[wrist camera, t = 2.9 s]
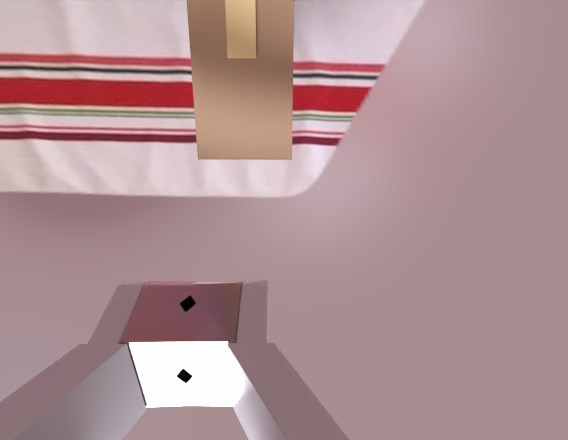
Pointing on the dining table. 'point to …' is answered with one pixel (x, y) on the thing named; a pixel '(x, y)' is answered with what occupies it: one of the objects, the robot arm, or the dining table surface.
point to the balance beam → (242, 77)
